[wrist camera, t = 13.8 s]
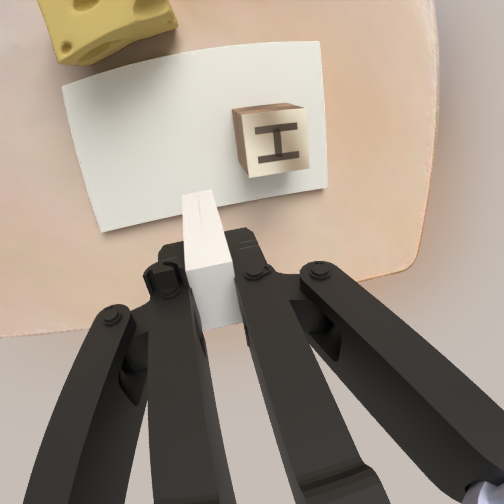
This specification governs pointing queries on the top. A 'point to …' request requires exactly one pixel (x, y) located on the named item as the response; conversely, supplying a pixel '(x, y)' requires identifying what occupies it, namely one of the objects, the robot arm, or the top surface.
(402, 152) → the top surface
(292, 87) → the cutting board
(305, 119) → the walnut block
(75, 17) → the cheese
